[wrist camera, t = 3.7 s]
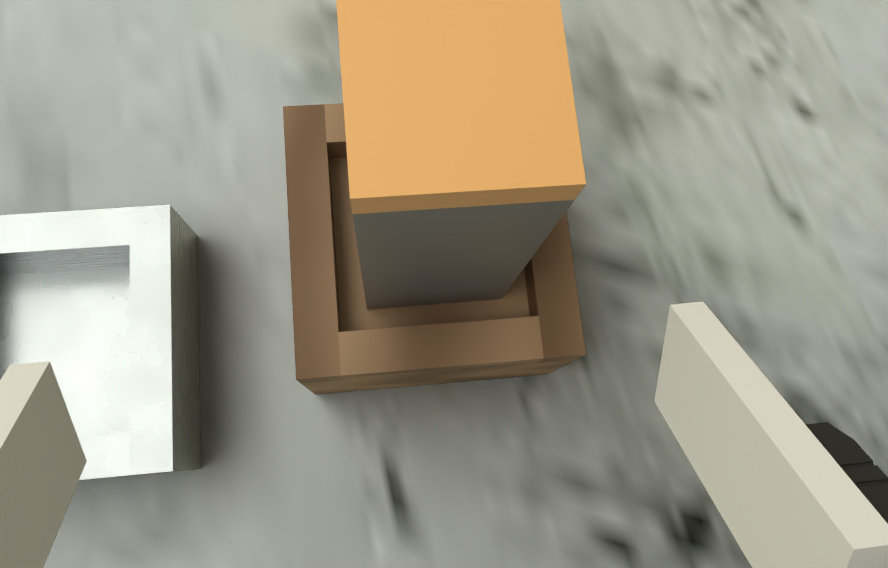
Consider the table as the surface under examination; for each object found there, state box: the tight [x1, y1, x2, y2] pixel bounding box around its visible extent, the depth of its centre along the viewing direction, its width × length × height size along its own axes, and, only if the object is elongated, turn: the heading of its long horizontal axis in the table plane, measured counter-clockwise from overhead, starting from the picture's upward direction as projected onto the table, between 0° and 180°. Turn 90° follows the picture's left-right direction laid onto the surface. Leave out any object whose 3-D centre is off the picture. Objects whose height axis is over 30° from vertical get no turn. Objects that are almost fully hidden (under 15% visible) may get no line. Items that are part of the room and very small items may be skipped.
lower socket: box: [0, 205, 201, 480], centre depth 28 cm, size 10×10×4 cm
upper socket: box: [283, 104, 586, 394], centre depth 29 cm, size 10×10×6 cm
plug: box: [336, 0, 586, 309], centre depth 22 cm, size 5×5×12 cm
